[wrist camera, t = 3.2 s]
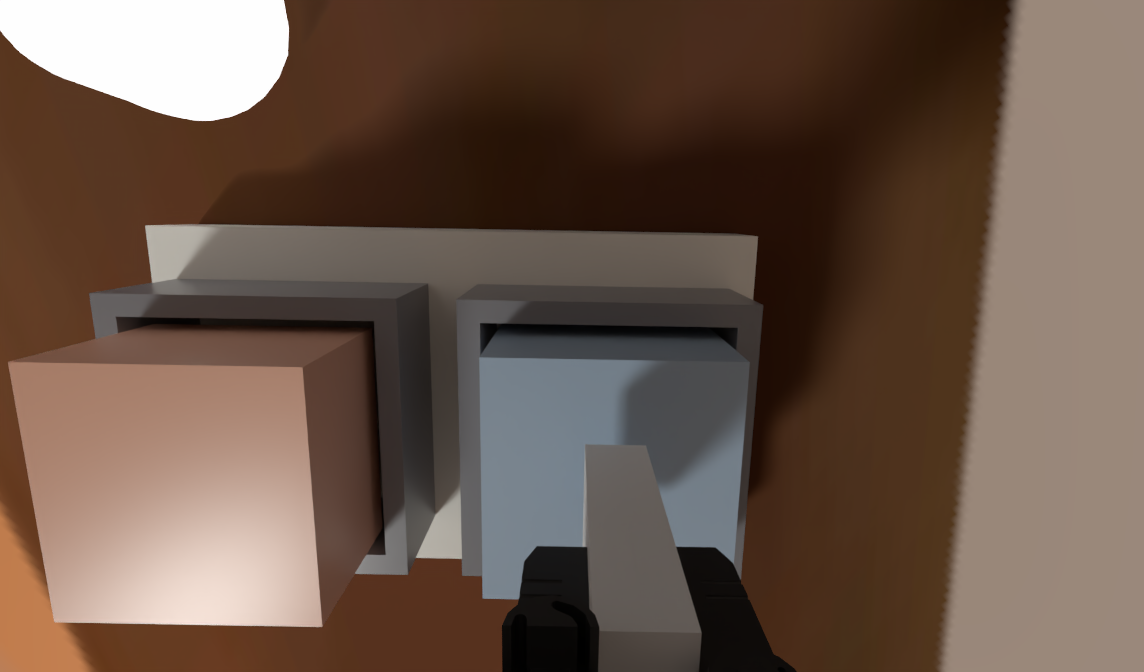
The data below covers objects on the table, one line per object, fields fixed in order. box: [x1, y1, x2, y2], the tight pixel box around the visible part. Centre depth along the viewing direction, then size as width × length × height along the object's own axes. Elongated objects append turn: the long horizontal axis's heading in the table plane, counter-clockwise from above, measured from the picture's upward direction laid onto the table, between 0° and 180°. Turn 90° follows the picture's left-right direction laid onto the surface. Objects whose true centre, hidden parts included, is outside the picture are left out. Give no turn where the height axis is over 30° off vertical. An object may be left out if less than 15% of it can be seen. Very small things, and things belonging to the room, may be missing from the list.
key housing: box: [89, 224, 763, 580], centre depth 22 cm, size 13×22×7 cm, turn 89°
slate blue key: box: [479, 323, 750, 599], centre depth 19 cm, size 7×7×5 cm
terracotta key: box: [8, 324, 383, 627], centre depth 17 cm, size 7×7×5 cm
